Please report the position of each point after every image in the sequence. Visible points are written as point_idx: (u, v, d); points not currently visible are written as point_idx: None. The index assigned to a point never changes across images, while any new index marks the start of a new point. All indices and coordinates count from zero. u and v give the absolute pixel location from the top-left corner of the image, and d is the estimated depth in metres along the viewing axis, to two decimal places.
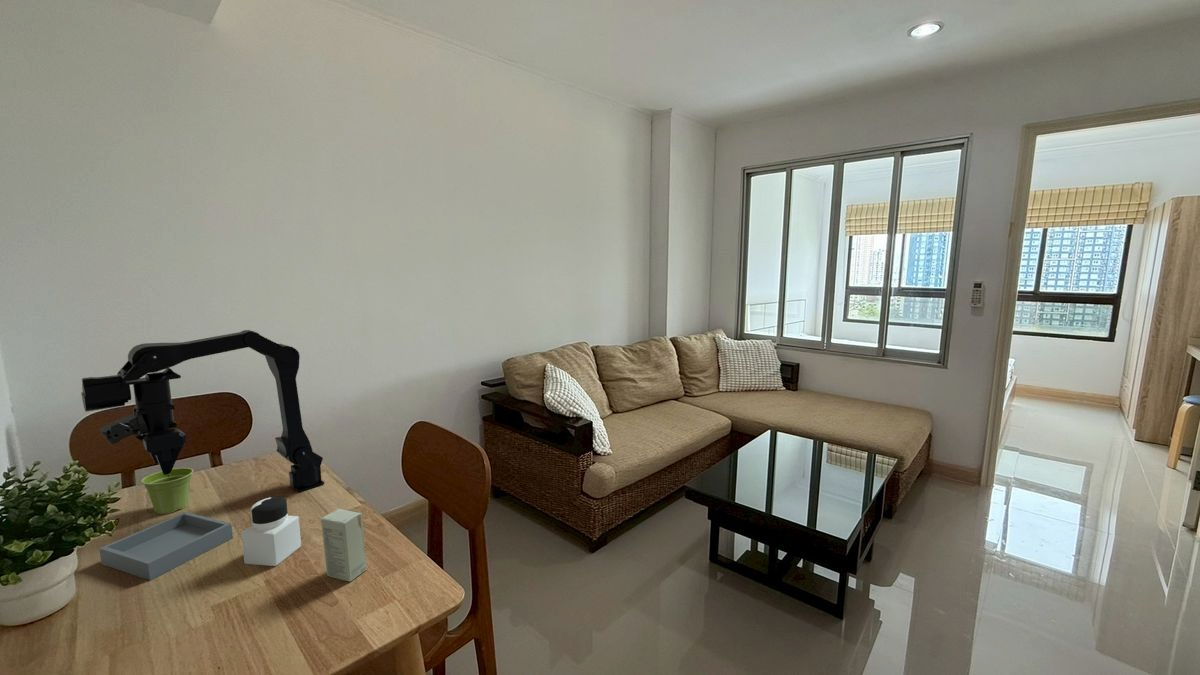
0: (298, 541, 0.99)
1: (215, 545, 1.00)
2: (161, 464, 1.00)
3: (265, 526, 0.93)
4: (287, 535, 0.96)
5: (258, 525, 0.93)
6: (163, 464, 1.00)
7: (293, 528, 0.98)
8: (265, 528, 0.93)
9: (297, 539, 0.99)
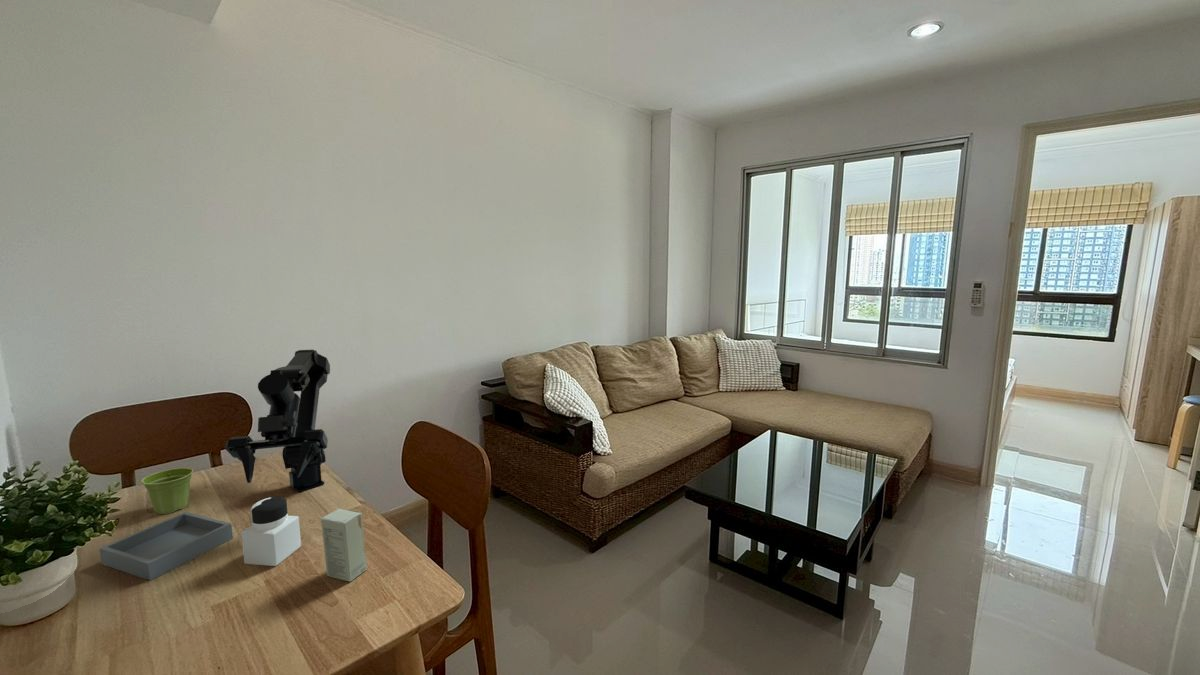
0: (298, 541, 0.99)
1: (215, 545, 1.00)
2: (303, 462, 1.05)
3: (265, 526, 0.93)
4: (287, 535, 0.96)
5: (258, 525, 0.93)
6: (302, 463, 1.05)
7: (293, 528, 0.98)
8: (265, 528, 0.93)
9: (297, 539, 0.99)
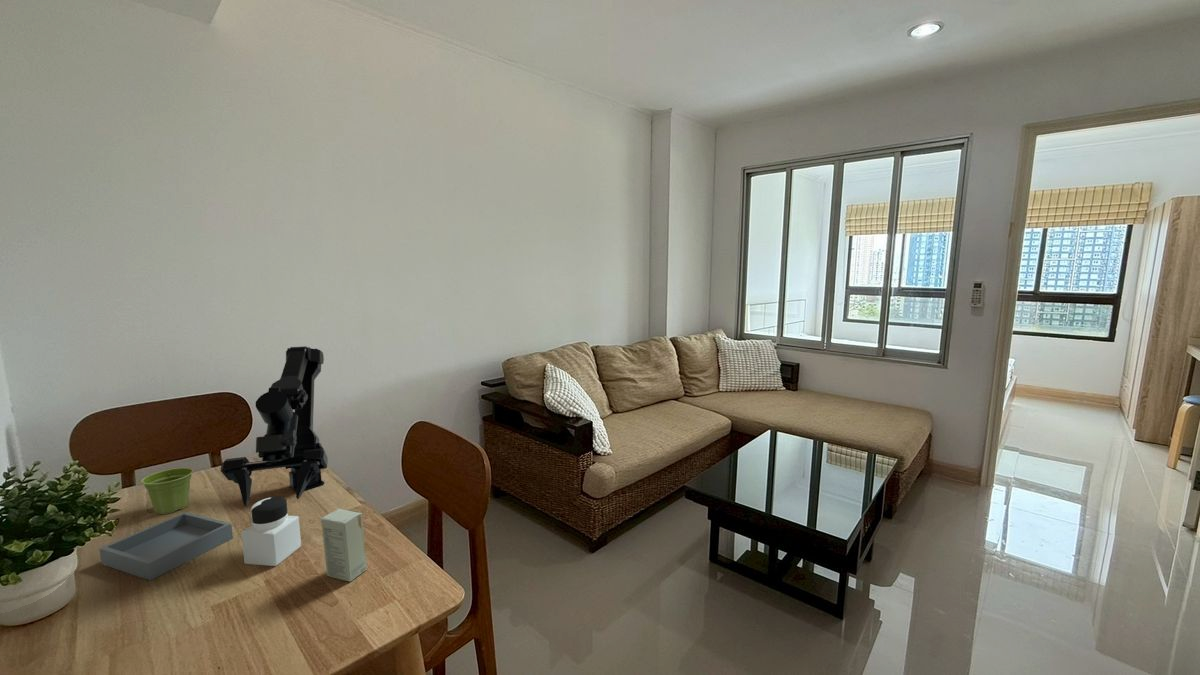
0: (298, 541, 0.99)
1: (215, 545, 1.00)
2: (303, 483, 1.01)
3: (265, 526, 0.93)
4: (287, 535, 0.96)
5: (258, 525, 0.93)
6: (302, 485, 1.01)
7: (293, 528, 0.98)
8: (265, 528, 0.93)
9: (297, 539, 0.99)
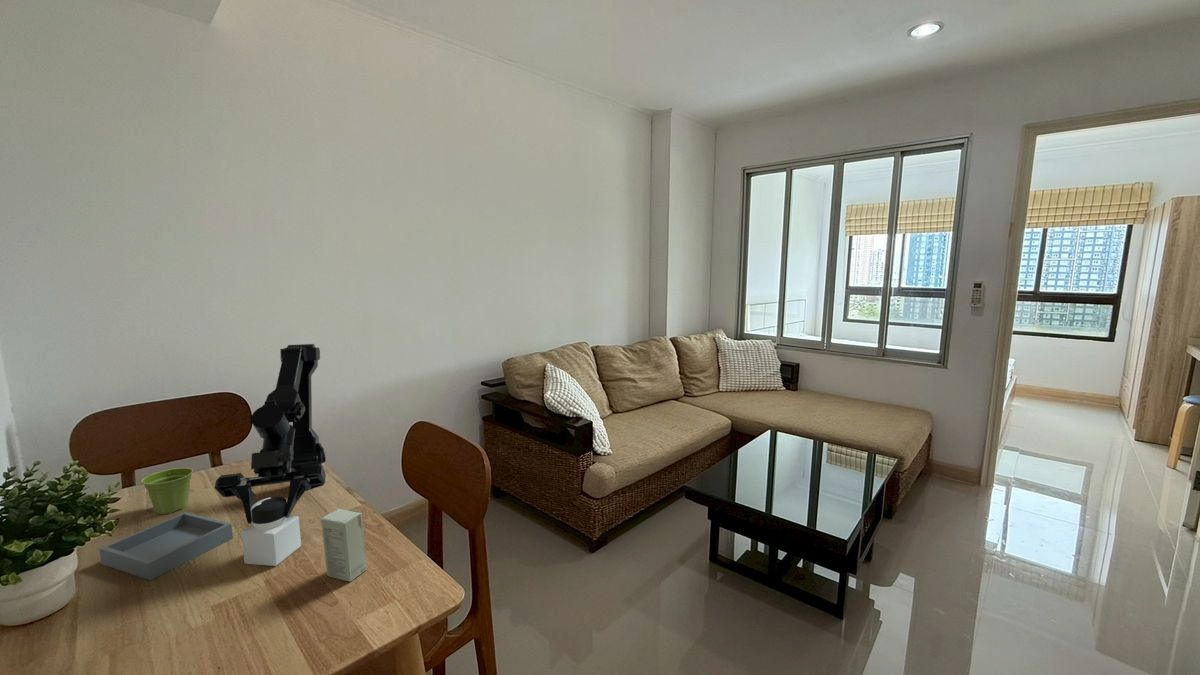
0: (298, 541, 0.99)
1: (215, 545, 1.00)
2: (292, 501, 0.97)
3: (265, 526, 0.93)
4: (287, 535, 0.96)
5: (257, 525, 0.93)
6: (292, 502, 0.97)
7: (293, 528, 0.98)
8: (265, 528, 0.93)
9: (297, 539, 0.99)
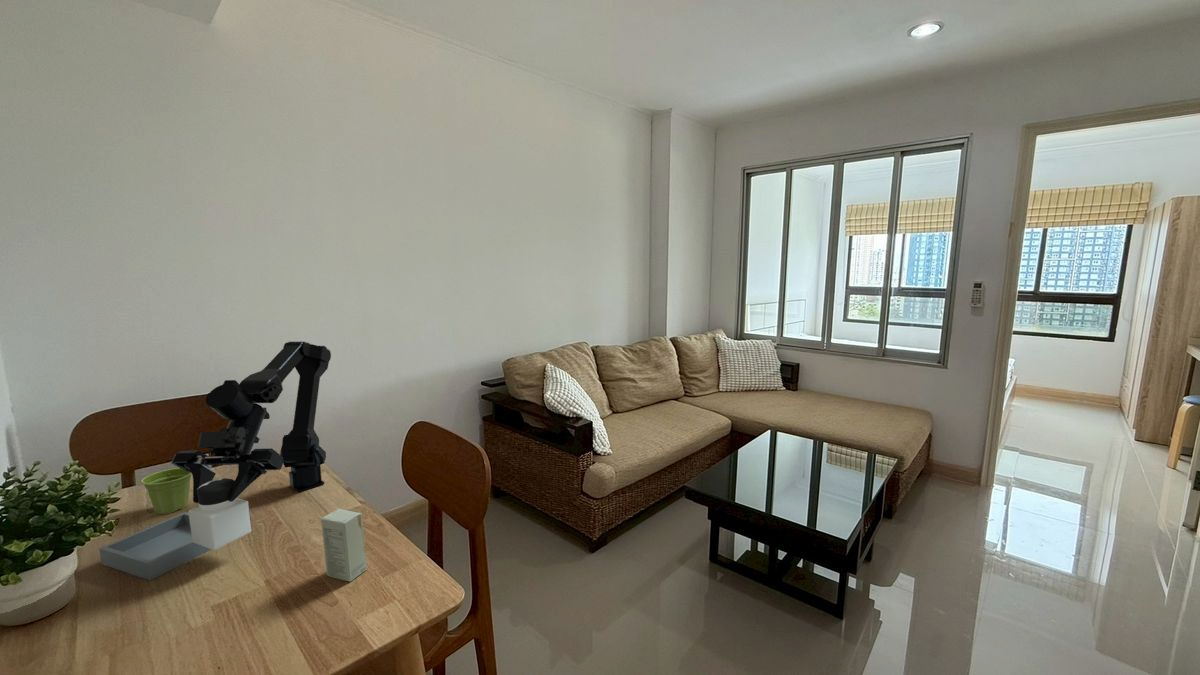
0: (247, 526, 0.96)
1: None
2: (238, 485, 0.94)
3: (207, 508, 0.91)
4: (231, 519, 0.93)
5: (200, 505, 0.91)
6: (238, 486, 0.94)
7: (239, 513, 0.95)
8: (207, 510, 0.91)
9: (245, 524, 0.96)
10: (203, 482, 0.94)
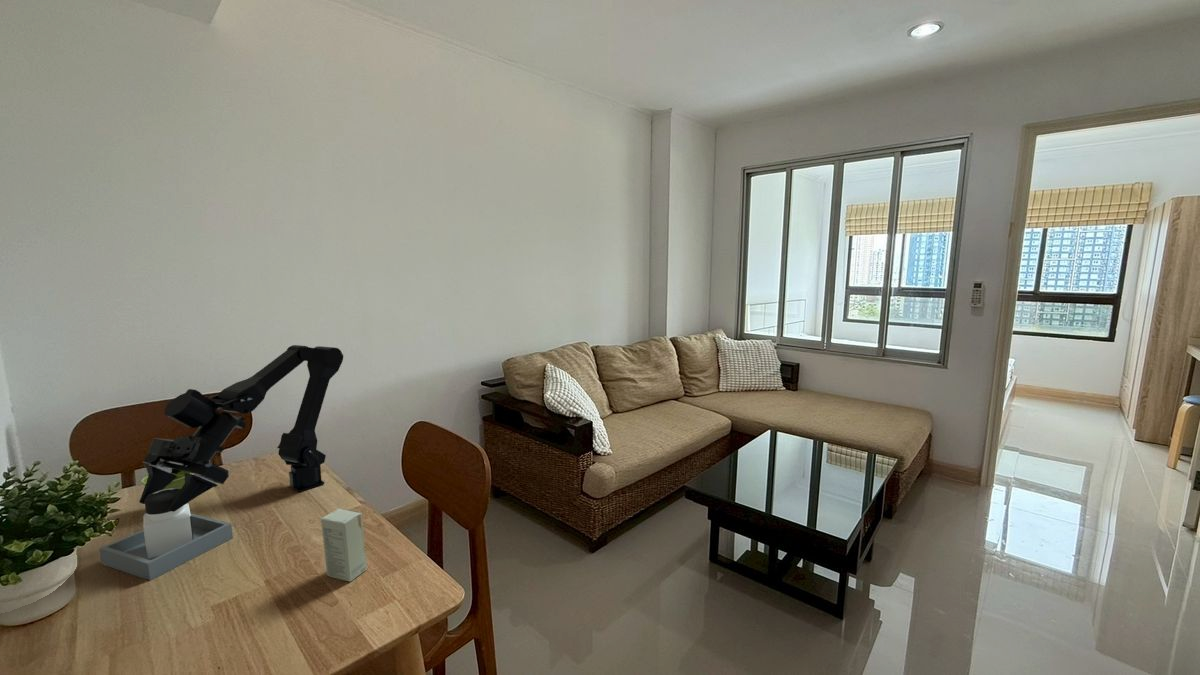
0: (188, 540, 0.97)
1: (215, 545, 1.00)
2: (181, 496, 0.95)
3: (149, 516, 0.94)
4: (168, 531, 0.95)
5: (146, 513, 0.95)
6: (181, 497, 0.95)
7: (179, 526, 0.96)
8: (150, 518, 0.95)
9: (185, 538, 0.97)
10: (156, 484, 0.99)
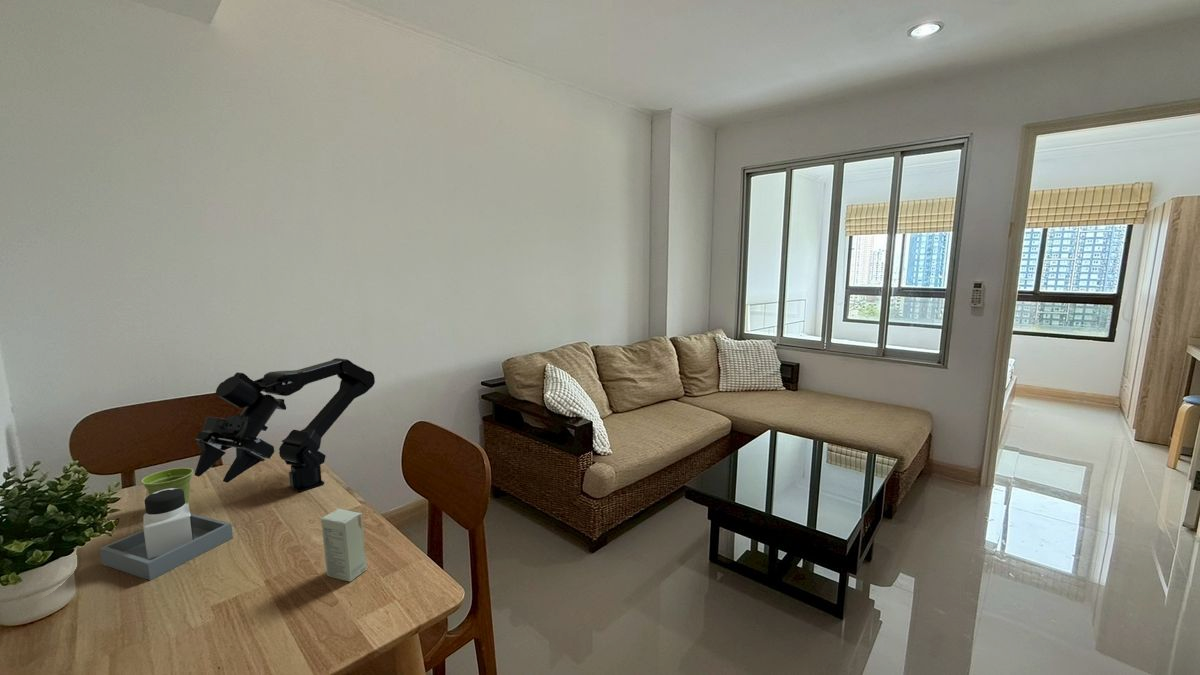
0: (188, 540, 0.97)
1: (215, 545, 1.00)
2: (233, 469, 1.04)
3: (149, 516, 0.94)
4: (168, 531, 0.95)
5: (146, 513, 0.95)
6: (233, 470, 1.04)
7: (179, 526, 0.96)
8: (150, 518, 0.95)
9: (185, 538, 0.97)
10: (208, 459, 1.09)
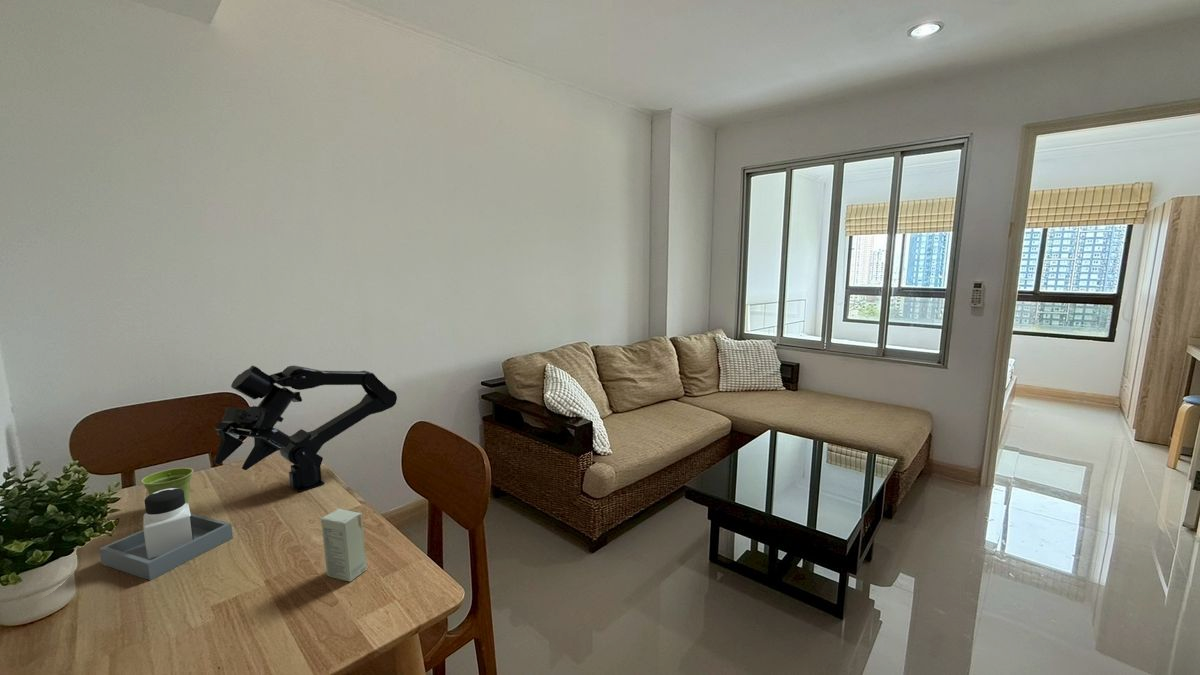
0: (188, 540, 0.97)
1: (215, 545, 1.00)
2: (251, 457, 1.09)
3: (149, 516, 0.94)
4: (168, 531, 0.95)
5: (146, 513, 0.95)
6: (251, 458, 1.10)
7: (179, 526, 0.96)
8: (150, 518, 0.95)
9: (185, 538, 0.97)
10: (227, 448, 1.14)
